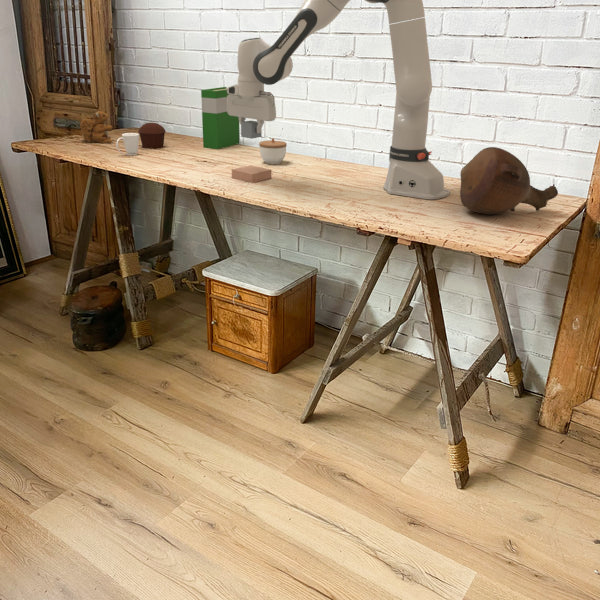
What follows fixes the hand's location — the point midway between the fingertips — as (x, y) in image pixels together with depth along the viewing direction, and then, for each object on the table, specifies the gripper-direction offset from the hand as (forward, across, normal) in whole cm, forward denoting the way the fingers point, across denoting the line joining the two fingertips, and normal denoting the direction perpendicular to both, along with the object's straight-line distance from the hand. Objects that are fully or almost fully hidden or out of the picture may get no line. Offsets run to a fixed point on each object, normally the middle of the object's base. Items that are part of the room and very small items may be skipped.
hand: (251, 131), depth 215 cm
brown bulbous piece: (+16, -85, -21) cm, 89 cm away
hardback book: (+16, +52, -36) cm, 65 cm away
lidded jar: (+16, +12, -25) cm, 32 cm away
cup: (+16, +63, +6) cm, 65 cm away
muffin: (+16, +70, -12) cm, 73 cm away
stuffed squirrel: (+17, +96, -2) cm, 98 cm away
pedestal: (+16, 0, 0) cm, 16 cm away
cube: (+2, 0, 0) cm, 2 cm away
